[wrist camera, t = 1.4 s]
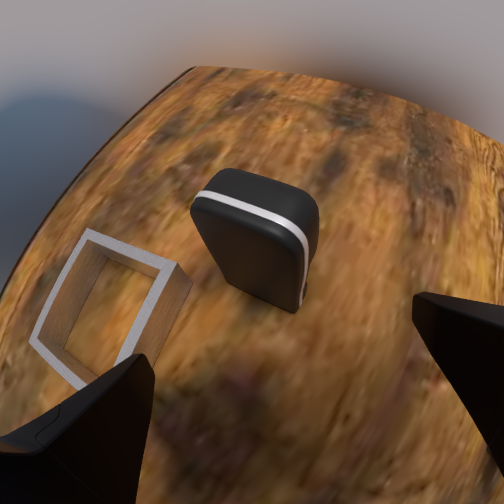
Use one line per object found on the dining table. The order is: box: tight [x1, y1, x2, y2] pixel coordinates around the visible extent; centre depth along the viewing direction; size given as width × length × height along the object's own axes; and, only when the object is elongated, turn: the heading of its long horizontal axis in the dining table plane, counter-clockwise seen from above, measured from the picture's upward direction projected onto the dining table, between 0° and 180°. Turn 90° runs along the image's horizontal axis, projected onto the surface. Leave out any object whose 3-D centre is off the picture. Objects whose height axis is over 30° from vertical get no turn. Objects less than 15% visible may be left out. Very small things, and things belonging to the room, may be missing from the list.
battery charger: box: [190, 168, 319, 313], centre depth 19 cm, size 7×4×11 cm, turn 61°
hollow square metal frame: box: [29, 228, 193, 391], centre depth 22 cm, size 12×13×4 cm
